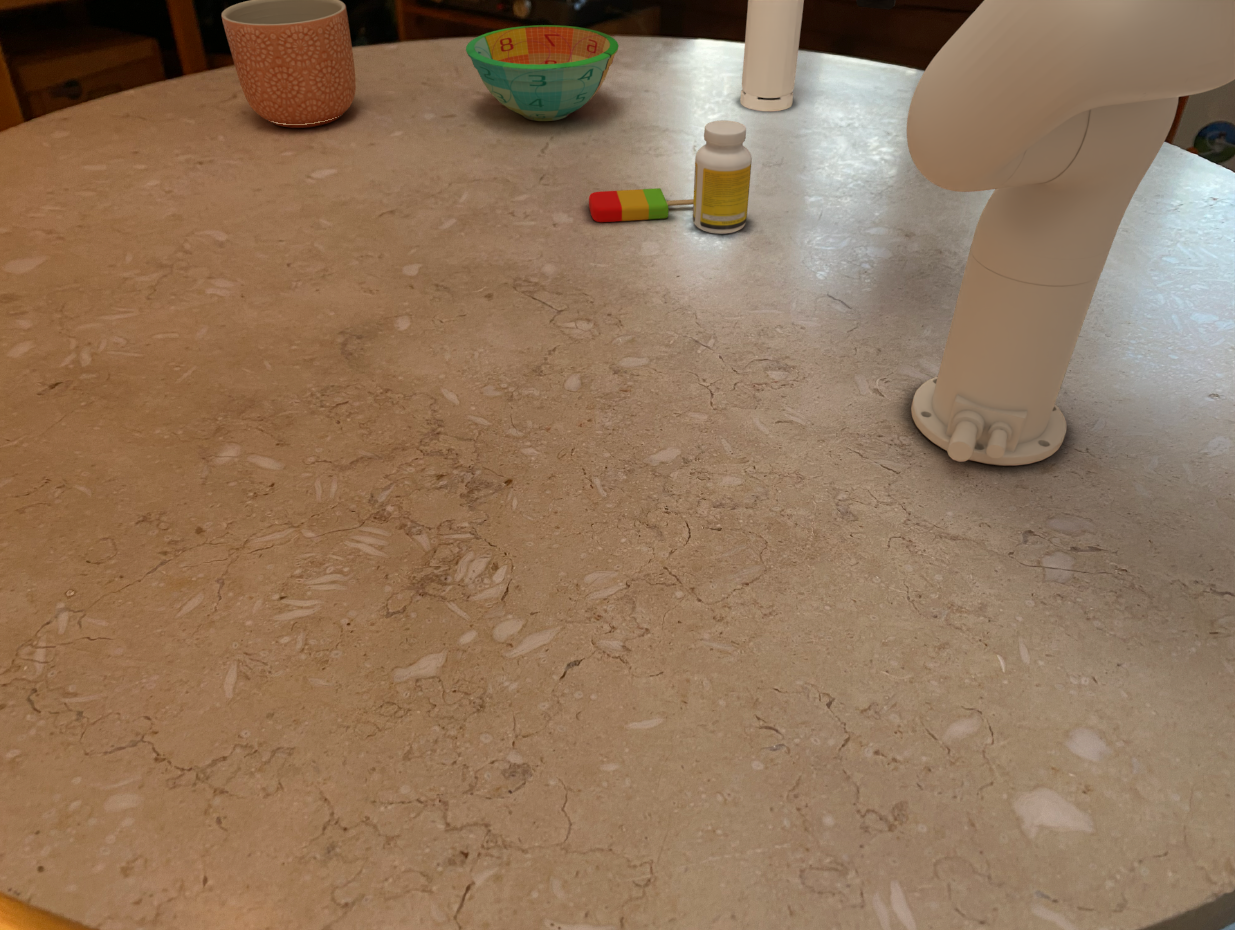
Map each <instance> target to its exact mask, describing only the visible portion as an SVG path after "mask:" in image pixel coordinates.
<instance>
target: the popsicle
mask: <svg viewBox="0 0 1235 930" xmlns="http://www.w3.org/2000/svg"><path fill="white" fill-rule="evenodd" d="M693 199H694V198H691V199H690V198H689V199H674V200H673V199H672V200H667V199H666V197H665V195H664V192H663V190H662V188H660V187H658V188H640V189H639V188H638V189H621V190H603V191H600V190H599V191H593V192H592V193H590V194H589V196H588V208H589V212H590V215H591V217H592V220H593V221H595V222H597V223H611V222H613V223H614V222H628V221H630V222H631V221H645V220H647V221H648V220H662V219H663V220H664V219H668V217H669V207H673V206H675V207H676V206H689V205H690V206H693Z"/></svg>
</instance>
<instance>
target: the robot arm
mask: <svg viewBox="0 0 1235 930" xmlns="http://www.w3.org/2000/svg"><path fill="white" fill-rule="evenodd" d="M896 2H897V0H856V2H855V3H856V5H857V6H858V7H861V8H869V9H878V10H888V11H889V10H892V9H893V8H894V7H895V5H896ZM1234 80H1235V0H983V1H982V2H981V3H980V4H979V6H978V7H976V9H975V11H973V12H972V13H971V14H970V15H969V16H968V18H967V19H966V20H965V21H964V22H963V24H961V26H960V27H959V28H958V29H957V30H956V31H955V32H954V33H953V35H951V36H950V38H949V39H948V40H947V41H946V43H945V44H944V45H943V46H942V47H941V48H940V50H939V51H938V52H937V53H936V54H935V56H934V57H933V58H932V59H931V61H930V62H929V64H928V65H927V67H926V68H925V70H924V71H923V73H922V75H921V76H920V79H919V81H918V83H917V84H916V87H915V90H914V91H913V94H912V98H911V100H910V105H909V108H908V113H907V120H906V142H907V148H908V152H909V155H910V158H911V160H912V162H913V164H914V165H915V167H916V169H917V170H918V171H919V173H920V174H921V175H922V176H923V177H924V178H925V179H926V180H928V181H929V182H930V183H932V184H933V185H934V186H936V187H939V188H941V189H945V190H947V191H951V192H960V193H972V192H974V193H975V192H984V191H991V190H994V191H993V192H992V194H991V195H990V197H988V200H987V202H986V204H985V205H984V208H983V210H982V212H981V213H980V215H979V219H978V221H977V224H976V227H975V229H974V233H973V236H972V241H971V244H970V248H969V251H968V255H967V260H966V264H965V267H964V271H963V272H964V273H963V274H962V275H963V276H962V279H961V280H962V281H961V283H960V287H959V292H958V295H957V299H956V303H955V308H954V311H953V316H952V320H951V322H950V327H949V330H948V335H947V339H946V343H945V347H944V349H943V350H944V351H943V355H942V358H941V363H940V366H939V370H938V374H937V376H934V377H931V378H930V379H928V380H926V381H925V382H923V383H922V384H921V385H920V386H919V387H918V388H917V389H916V390H915V392H914V395H913V397H912V403H911V406H910V407H911V408H910V412H911V417H912V420H913V422H914V425H915V426H916V427H917V429H918V430H919V431H920V432H921V433H922V435H924V436H925V437H926V438H927V439H928V440H930V441H931V442H932V443H933V444H935V445H936V446H938V447H940V448H941V449H943V450H945V451H946V452H947V455H948V457H950V459H952V460H953V461H956V462H959V463H960V462H966V461H972V462H977V463H982V464H986V465H993V466H994V465H995V466H1023V465H1030V464H1034V463H1037V462H1040V461H1044V460H1045V459H1048V458H1049V457H1051V456H1053V455H1054V454H1055V453H1056V452H1057V451H1058V450H1060V447H1061V446H1062V444H1063V442H1064V439H1065V437H1066V433H1067V420H1066V418H1065V416H1064V414H1063V412H1062V411H1061V409H1060V408H1059V406H1058V405H1057V404H1056V401H1057V399H1058V397H1059V393H1060V391H1061V388H1062V385H1063V382H1064V379H1065V376H1066V375H1067V370H1068V367H1069V365H1070V363H1071V359H1072V357H1073V354H1074V351H1075V348H1076V345H1077V342H1078V340H1079V336H1080V334H1081V331H1082V328H1083V325H1084V323H1085V319H1086V318H1087V314H1088V311H1089V309H1090V306H1091V303H1092V300H1093V296H1094V294H1095V292H1096V289H1097V285H1098V283H1099V280H1100V277H1101V275H1102V273H1103V270H1104V268H1105V265H1106V262H1107V259H1108V257H1109V255H1110V252H1111V248H1112V246H1113V243H1114V241H1115V238H1116V235H1117V233H1118V230H1119V227H1120V225H1121V223H1122V220H1123V218H1124V215H1125V214H1126V211H1127V209H1128V207H1129V205H1130V203H1131V201H1132V199H1133V197H1134V195H1135V193H1136V191H1137V190H1138V187H1139V186H1140V184H1141V183H1142V181H1143V179H1144V177H1145V175H1146V174H1147V172H1148V171H1149V169H1150V167H1151V165H1152V164H1153V162H1154V161H1155V159H1156V157H1157V155H1158V154H1159V152H1160V151H1161V148H1162V147H1163V145H1164V143H1165V141H1166V139H1167V137H1168V135H1169V133H1170V130H1171V128H1172V125H1173V124H1174V120H1175V117H1176V114H1177V110H1178V106H1179V98H1180V97H1187V96H1192V95H1198V94H1201V93H1205V92H1209V91H1212V90H1215V89H1218V88H1221V87H1223V86H1226V85H1227V84H1230V83H1231V82H1233V81H1234Z"/></svg>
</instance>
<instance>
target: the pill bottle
mask: <svg viewBox="0 0 1235 930" xmlns="http://www.w3.org/2000/svg"><path fill="white" fill-rule="evenodd" d="M703 132H704V133H703V140H704V142H705V144H703V145H702V146H701V147H700V148H698V150H697V152H696V153H695V156H694V157H695V158H694V176H693V178H694V179H693V198H692V199H693V205H692V206H693V207H692V222H693V224H694V225H695V227H697V228H698V229H699V230H701V231H704V232H706V233H710V234H721V235H722V234H723V235H724V234H725V235H726V234H732V233H735V232H739V231H740V230H742V229H743V228H744V227H745V225H746V223H747V220H748V210H749V209H748V208H749V199H750V198H749V197H750V196H749V195H750V186H751V173H752V163H753V162H752V159H753V158H752V154H751V152H750V150H749V149H748V148H747V147H746V146H745V145H744V143H745V141H746V139H747V127H746V125H745V124H743V123H741V122H739V121H734V120H725V119H724V120H723V119H721V120H714V121H710V122H708V123H706V124H705V125H704V130H703Z"/></svg>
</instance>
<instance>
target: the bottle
mask: <svg viewBox="0 0 1235 930" xmlns="http://www.w3.org/2000/svg"><path fill="white" fill-rule="evenodd" d="M804 1H805V0H747V13H746V25H745V36H744V37H745V38H744V51H743V62H742V63H743V64H742V77H741V88H742V89H741V90H740V100H739V101H740V105H741V106H742V107H744V108H747V109H749V110H753V111H758V112H779V111H785V110H787V109H790V108H791V107H792V105H793V101H794V92H793V91H794V89H795V84H796V83H795V82H796V74H797V66H798V65H797V64H798V57H799V49H800V47H799V46H800V40H801V39H800V38H801V29H802V21H803V13H804V12H803V11H804V4H805V3H804ZM761 98H763V99H761Z"/></svg>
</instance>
